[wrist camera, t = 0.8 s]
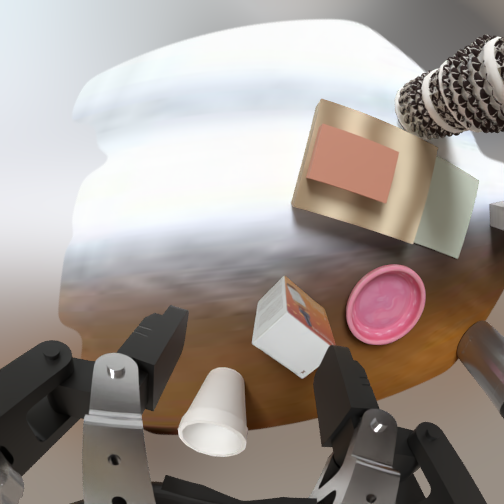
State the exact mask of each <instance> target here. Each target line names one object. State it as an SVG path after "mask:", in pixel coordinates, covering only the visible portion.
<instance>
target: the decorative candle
mask: <svg viewBox="0 0 504 504" xmlns="http://www.w3.org/2000/svg"><path fill="white" fill-rule="evenodd" d="M485 42H487V43H485ZM470 53H471V54H470ZM394 101H395V112H396V114H397V117H398V119H399V122H400V123H401V124H402V126H403V127H404V128H405V130H406V131H407V132H409V133H411V134H413V135H415V136H417V137H419V138H421V139H424V140H428V139H429V140H430V139H431V138H435V139H437V138H438V137H439V136H440V137H441V138H444V137H445V136H446V135H447V136H452V135H453V134H454V135H456V136H457V135H459V134H460V133H462V132H464V131H467V130H471V131H474V132H482V131H483V132H484V133H488V132H491V133H493V132H496V133H499V132H500V131H502V132H504V37H502V38H501V37H497V36H493V38H492V37H491V36H490V35H487V34H485V35H483V38H481V37H479V38H477V39H476V42H472V43H471V46H466V47H465V48H464V50H458V52H457V54H454V58H452V57H449V58H448V59H447V60H446V61H445V62H444V63H443V64H442V65H441V67H440V69H435V70H433V71H431V70H430V71H428V72H427V73H423V74H422V75H421V77H417V78H416V79H415V80H411V81H410V82H409V83H406V84H405V85H404V86H403V87H402V88H400V89H399V90H398V91H397V94H396V97H395V100H394ZM438 134H439V135H438Z"/></svg>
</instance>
